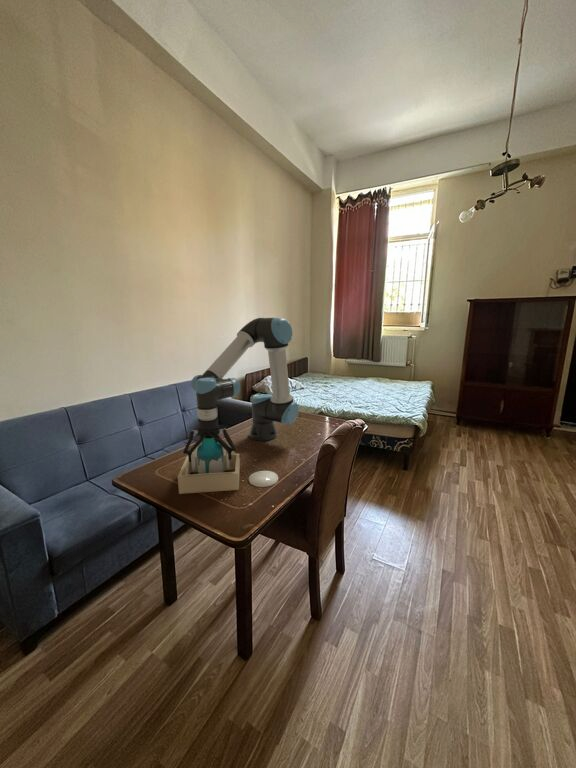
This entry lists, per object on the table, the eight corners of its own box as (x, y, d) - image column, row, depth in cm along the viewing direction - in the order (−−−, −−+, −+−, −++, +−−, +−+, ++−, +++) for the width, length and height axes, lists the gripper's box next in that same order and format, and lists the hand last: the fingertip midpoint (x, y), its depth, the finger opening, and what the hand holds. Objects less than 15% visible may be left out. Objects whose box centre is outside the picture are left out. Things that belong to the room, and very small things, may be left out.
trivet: (248, 472, 133) (248, 471, 133) (276, 471, 134) (276, 469, 134) (248, 488, 121) (248, 486, 121) (279, 486, 123) (279, 484, 123)
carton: (189, 467, 138) (187, 446, 136) (240, 464, 141) (239, 444, 139) (176, 499, 114) (174, 475, 112) (238, 495, 116) (237, 471, 114)
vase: (229, 475, 130) (227, 432, 126) (216, 489, 121) (213, 442, 116) (207, 471, 134) (205, 429, 130) (192, 484, 124) (189, 439, 120)
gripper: (172, 422, 116) (176, 474, 121) (240, 419, 119) (241, 470, 124) (177, 415, 124) (181, 465, 128) (240, 413, 126) (242, 461, 131)
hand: (210, 467), depth 126 cm, fingers open, 13 cm apart
